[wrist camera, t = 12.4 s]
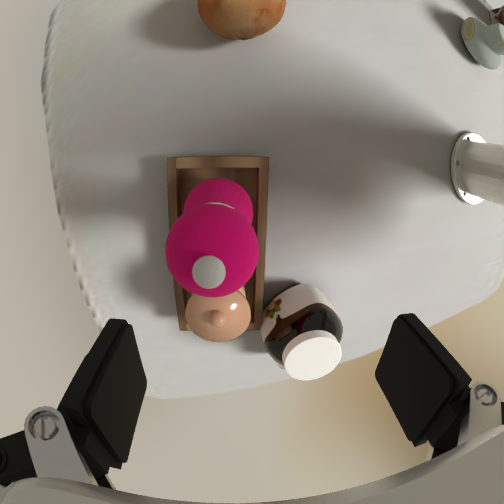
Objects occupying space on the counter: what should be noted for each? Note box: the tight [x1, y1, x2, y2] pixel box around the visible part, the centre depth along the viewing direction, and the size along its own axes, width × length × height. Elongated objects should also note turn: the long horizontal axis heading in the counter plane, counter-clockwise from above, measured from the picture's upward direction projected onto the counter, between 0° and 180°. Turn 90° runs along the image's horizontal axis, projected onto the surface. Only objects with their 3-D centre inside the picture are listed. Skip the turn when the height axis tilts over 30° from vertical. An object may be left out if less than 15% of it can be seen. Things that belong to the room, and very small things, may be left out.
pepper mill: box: [166, 178, 259, 298], centre depth 23 cm, size 7×7×20 cm
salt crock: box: [185, 285, 251, 342], centre depth 32 cm, size 7×7×9 cm
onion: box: [198, 0, 286, 40], centre depth 20 cm, size 10×10×10 cm
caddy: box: [167, 156, 269, 331], centre depth 34 cm, size 11×22×4 cm, turn 178°
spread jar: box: [261, 284, 343, 380], centre depth 35 cm, size 12×11×12 cm
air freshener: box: [461, 17, 504, 69], centre depth 21 cm, size 11×8×10 cm
